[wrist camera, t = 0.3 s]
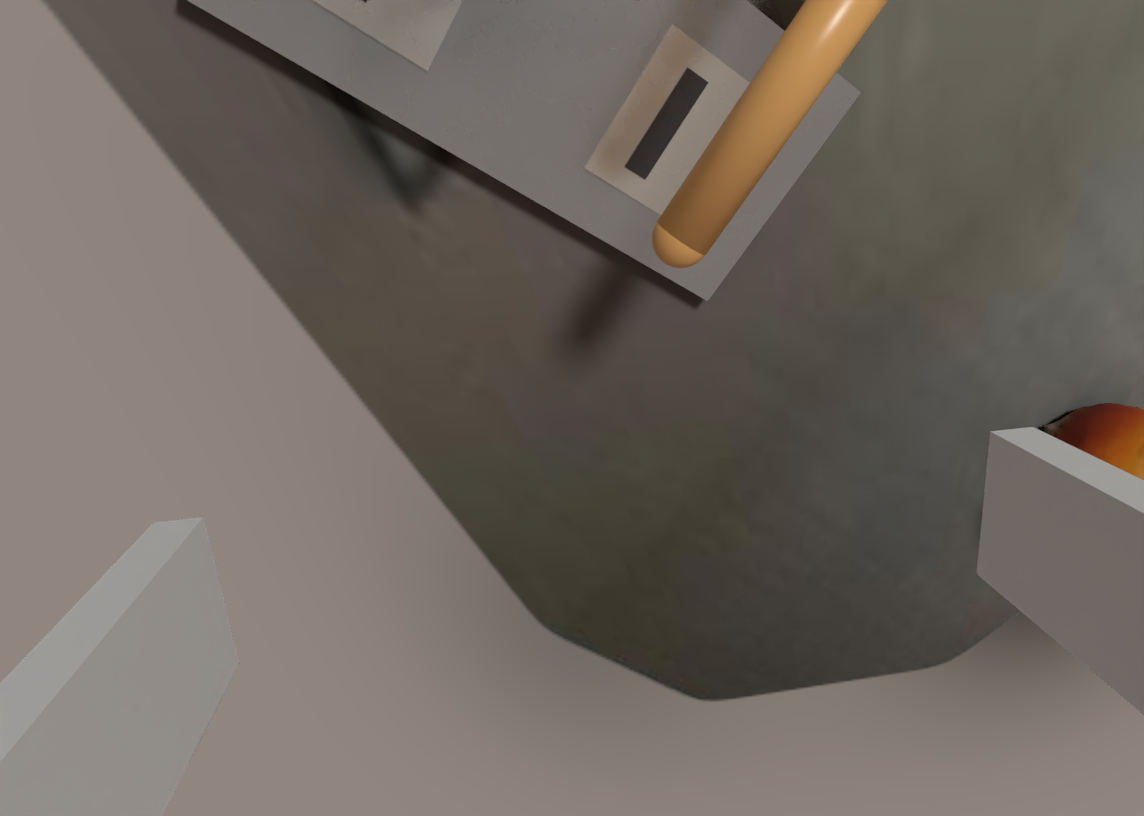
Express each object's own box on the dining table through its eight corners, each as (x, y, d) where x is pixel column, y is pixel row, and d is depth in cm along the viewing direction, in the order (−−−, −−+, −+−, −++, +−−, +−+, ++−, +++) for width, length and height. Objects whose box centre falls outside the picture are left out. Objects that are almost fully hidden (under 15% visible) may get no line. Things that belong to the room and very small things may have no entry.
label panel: (300, -357, 26) (296, -366, 25) (852, 89, 36) (862, 93, 36) (178, -10, 30) (171, -8, 29) (702, 295, 41) (708, 302, 40)
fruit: (1018, 417, 48) (1169, 471, 42) (1072, 367, 52) (1216, 410, 46) (992, 516, 52) (1126, 575, 47) (1044, 462, 56) (1173, 512, 51)
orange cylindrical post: (921, -234, 25) (984, -254, 23) (988, -159, 27) (1055, -170, 24) (620, 227, 32) (639, 257, 29) (686, 267, 34) (710, 298, 31)
